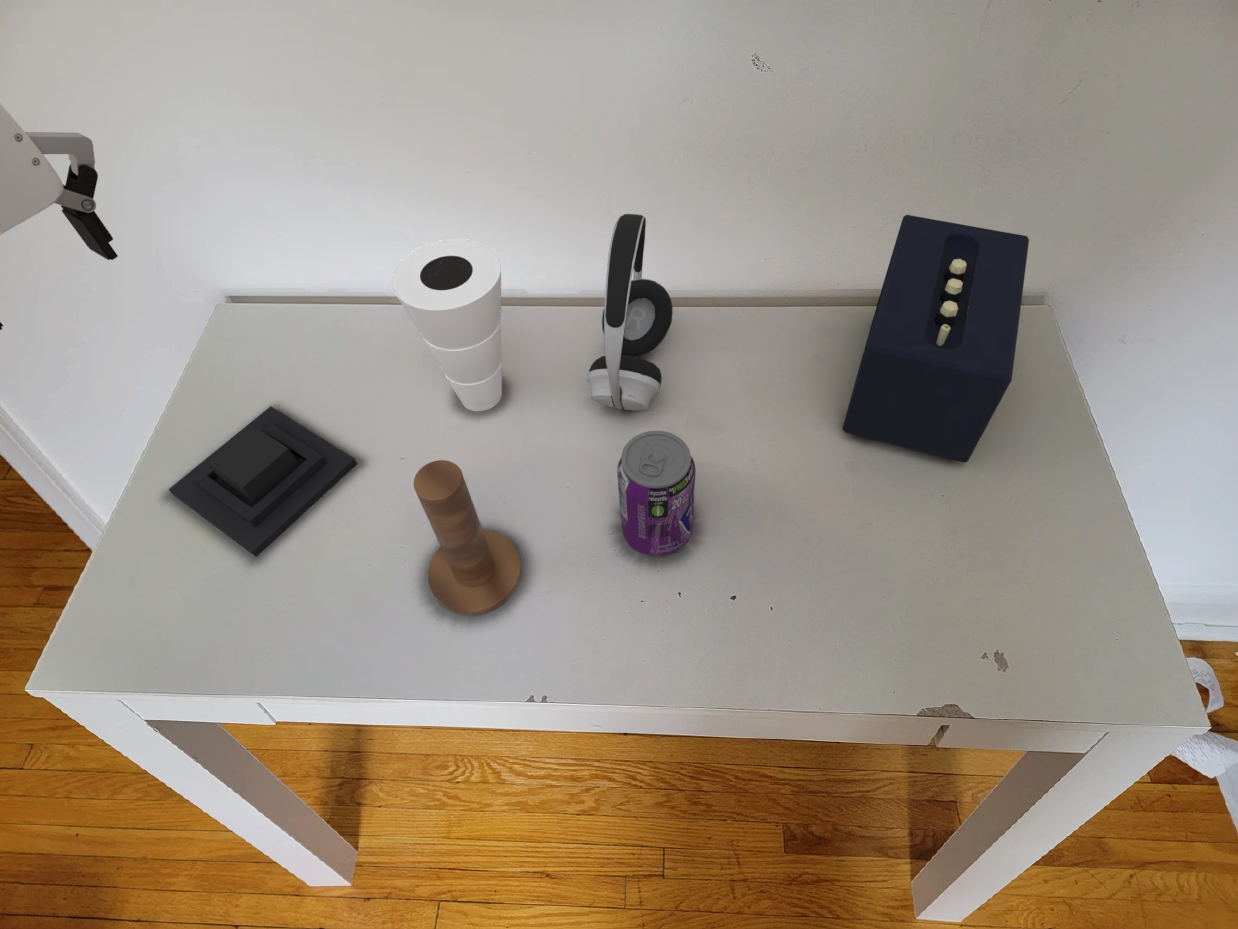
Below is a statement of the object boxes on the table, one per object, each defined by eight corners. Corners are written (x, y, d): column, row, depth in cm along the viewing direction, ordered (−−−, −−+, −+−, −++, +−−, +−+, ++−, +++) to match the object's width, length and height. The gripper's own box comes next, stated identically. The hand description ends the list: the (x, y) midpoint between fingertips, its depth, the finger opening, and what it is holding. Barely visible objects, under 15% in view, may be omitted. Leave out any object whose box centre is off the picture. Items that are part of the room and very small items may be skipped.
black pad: (257, 506, 80) (242, 487, 77) (221, 480, 82) (205, 461, 79) (301, 467, 83) (288, 448, 80) (265, 443, 85) (252, 423, 82)
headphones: (608, 317, 96) (598, 173, 80) (675, 321, 95) (678, 176, 79) (582, 436, 85) (564, 297, 69) (658, 442, 84) (657, 303, 68)
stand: (480, 633, 71) (440, 545, 59) (411, 585, 75) (359, 492, 62) (540, 562, 76) (515, 466, 63) (472, 519, 79) (435, 420, 66)
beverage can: (675, 570, 74) (677, 501, 65) (610, 544, 76) (602, 474, 67) (703, 513, 78) (708, 440, 68) (639, 490, 80) (636, 416, 70)
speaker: (875, 311, 94) (906, 205, 82) (984, 334, 91) (1033, 228, 79) (838, 441, 83) (868, 340, 71) (962, 473, 80) (1015, 374, 67)
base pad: (256, 557, 77) (246, 546, 76) (172, 494, 83) (161, 482, 81) (357, 463, 84) (350, 451, 82) (274, 411, 89) (266, 398, 87)
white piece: (416, 407, 88) (368, 285, 74) (475, 350, 94) (441, 226, 79) (487, 445, 85) (451, 324, 70) (545, 384, 90) (522, 259, 75)
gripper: (-26, -4, 51) (119, 214, 65) (-321, 115, 43) (-84, 335, 57) (34, 20, 49) (172, 243, 62) (-269, 153, 41) (-34, 375, 54)
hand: (49, 287), depth 60 cm, fingers open, 9 cm apart
